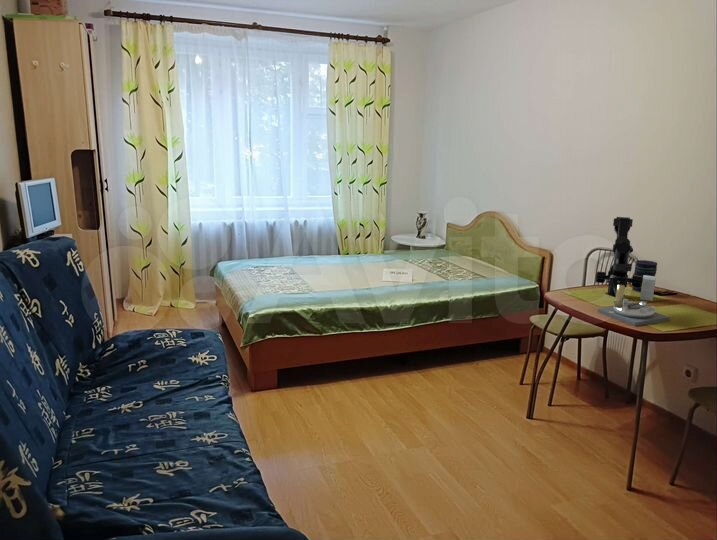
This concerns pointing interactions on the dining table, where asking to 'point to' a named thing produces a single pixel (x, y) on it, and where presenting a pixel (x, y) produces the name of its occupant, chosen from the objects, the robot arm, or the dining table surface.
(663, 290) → the dining table surface
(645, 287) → the small box
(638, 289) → the storage jar
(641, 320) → the housing plate
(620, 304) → the metal disc with post
